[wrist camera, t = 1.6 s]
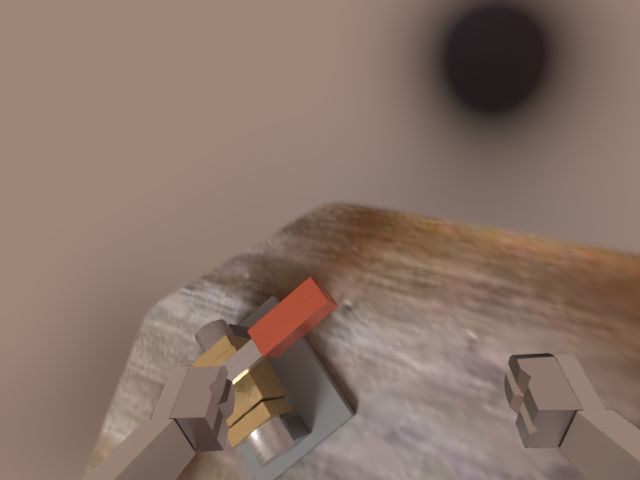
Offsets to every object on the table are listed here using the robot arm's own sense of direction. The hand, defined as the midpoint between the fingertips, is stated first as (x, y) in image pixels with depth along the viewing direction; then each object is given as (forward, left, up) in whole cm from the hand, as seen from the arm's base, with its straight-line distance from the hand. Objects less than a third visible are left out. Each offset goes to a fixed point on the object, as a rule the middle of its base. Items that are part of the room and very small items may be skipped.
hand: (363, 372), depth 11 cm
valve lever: (+4, +16, -25) cm, 30 cm away
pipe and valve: (0, +22, -35) cm, 41 cm away
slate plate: (0, +22, -37) cm, 42 cm away
